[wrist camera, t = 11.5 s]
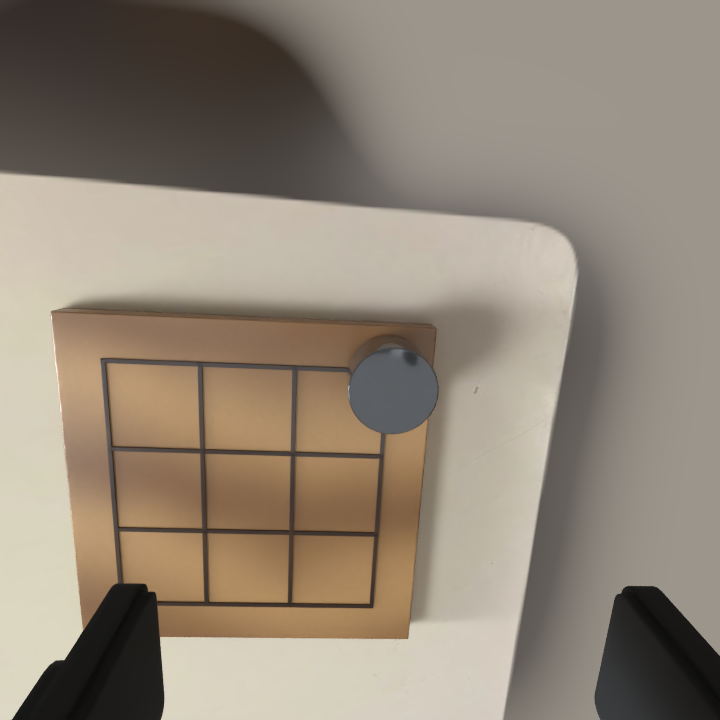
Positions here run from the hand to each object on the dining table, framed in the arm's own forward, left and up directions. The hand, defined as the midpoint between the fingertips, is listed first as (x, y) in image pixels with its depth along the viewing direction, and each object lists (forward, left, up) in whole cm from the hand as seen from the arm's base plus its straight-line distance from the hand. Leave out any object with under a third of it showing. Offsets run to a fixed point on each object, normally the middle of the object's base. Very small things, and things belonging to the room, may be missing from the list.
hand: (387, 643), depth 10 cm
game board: (+7, -6, -19) cm, 20 cm away
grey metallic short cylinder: (-1, +2, -17) cm, 17 cm away
